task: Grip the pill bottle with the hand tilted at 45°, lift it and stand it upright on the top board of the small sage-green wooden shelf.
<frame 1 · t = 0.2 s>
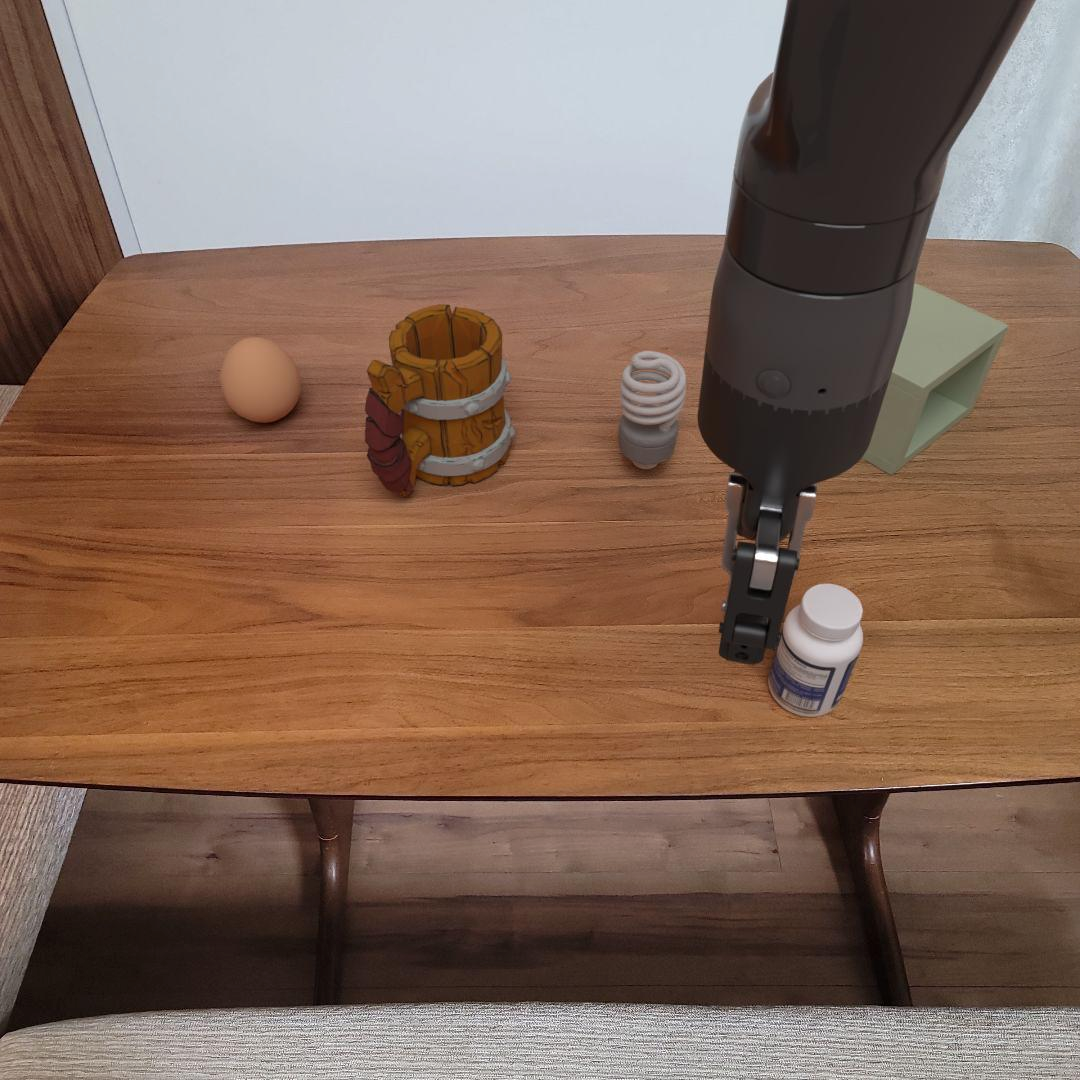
hand: (747, 591, 50), 20 cm above the table, tool pointing down, fingers open, 8 cm apart
egg: (270, 416, 92), on the table
shelf: (879, 413, 91), on the table
mug: (439, 466, 86), on the table
pill bottle: (802, 690, 69), on the table
light bulb: (644, 468, 86), on the table
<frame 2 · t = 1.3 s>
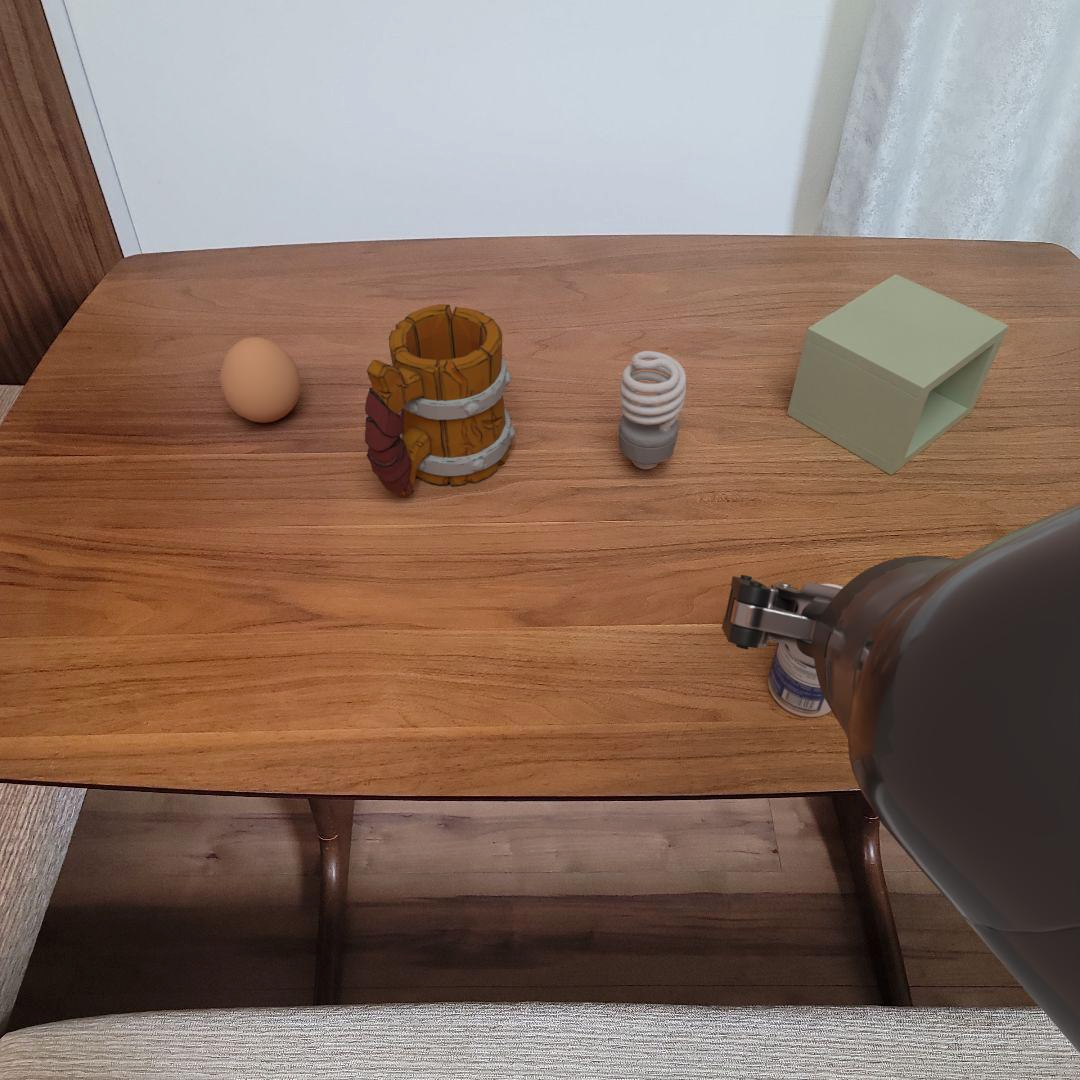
hand: (871, 626, 46), 22 cm above the table, tool tilted 45°, fingers open, 8 cm apart
nothing on the table moved.
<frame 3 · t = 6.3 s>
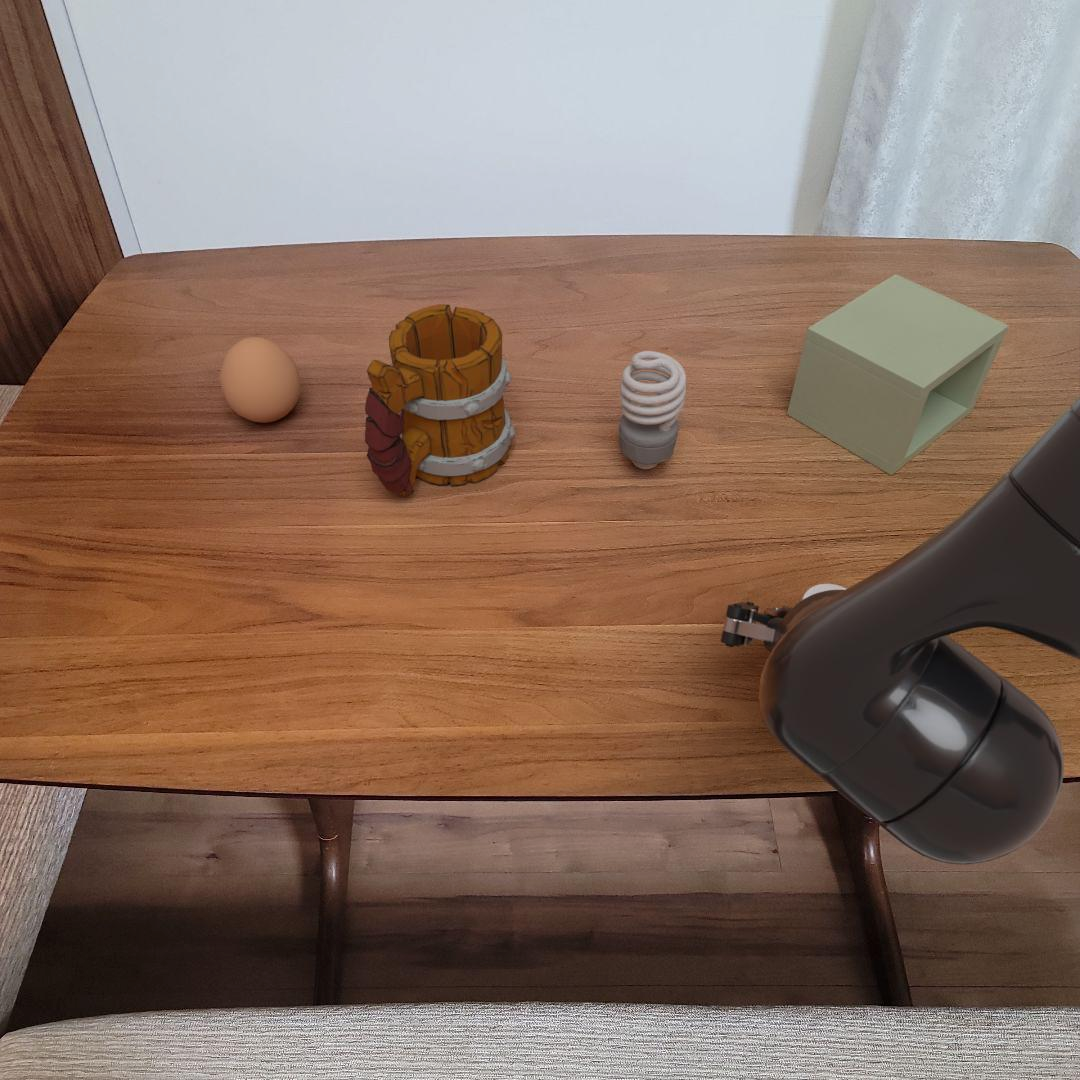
hand: (818, 631, 67), 5 cm above the table, tool tilted 45°, fingers closed on pill bottle, 5 cm apart
pill bottle: (802, 690, 69), on the table, touching gripper
everything else where it was.
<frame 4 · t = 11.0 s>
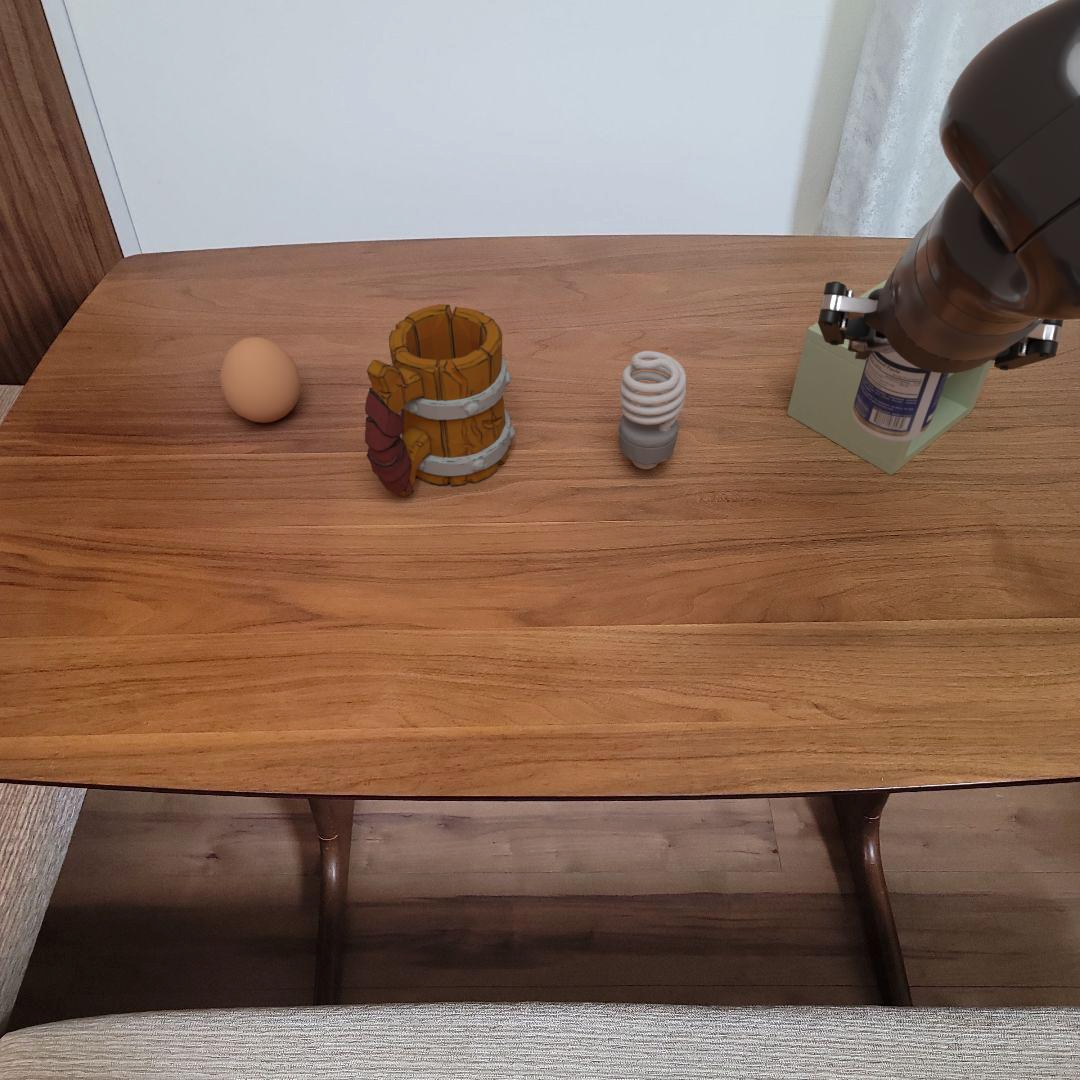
hand: (906, 351, 65), 20 cm above the table, tool tilted 45°, fingers closed on pill bottle, 5 cm apart
pill bottle: (888, 422, 67), point 15 cm above the table, touching gripper
everything else where it was.
when the fingers open (15 cm above the table, at t = 15.7 s): pill bottle stays where it is, resting on shelf.
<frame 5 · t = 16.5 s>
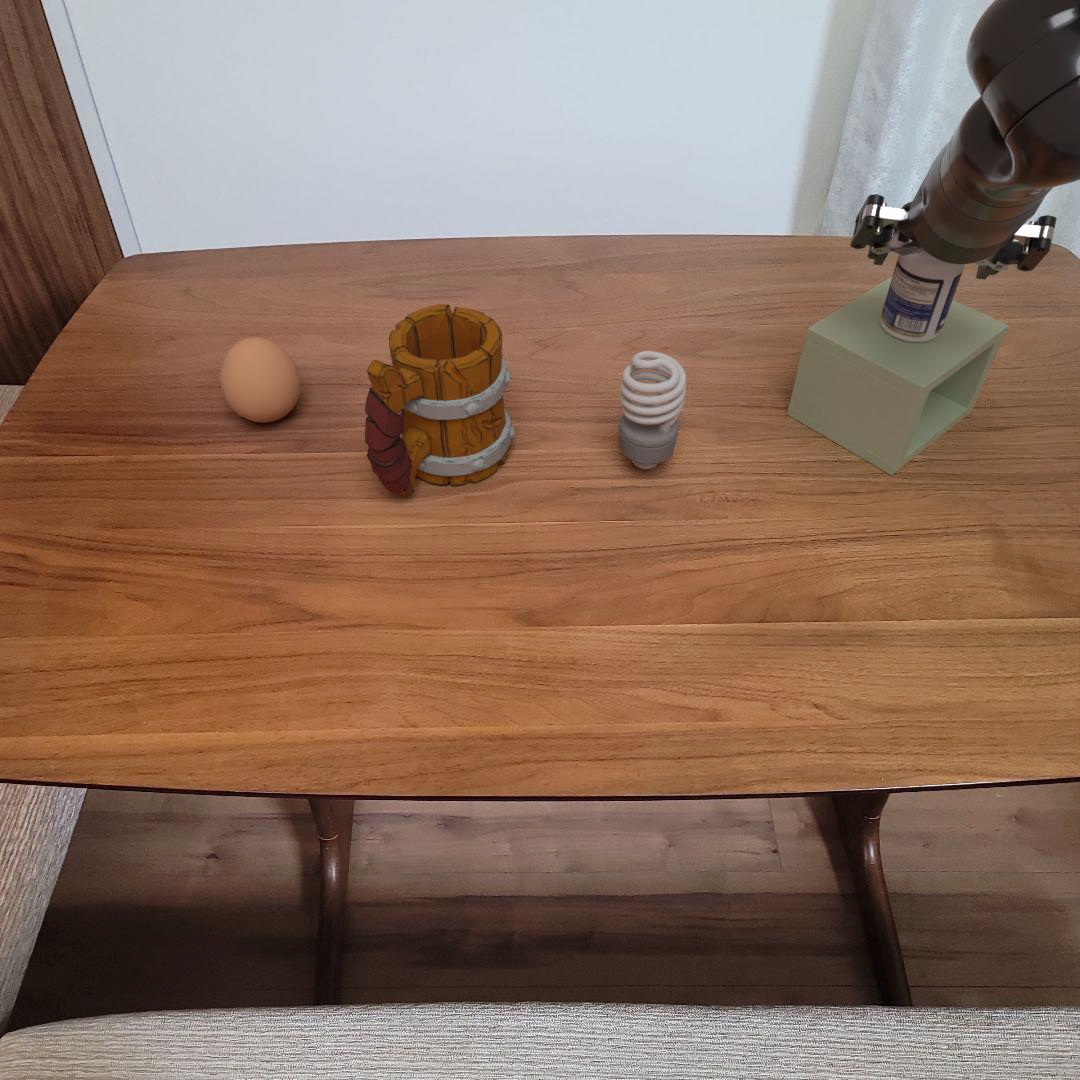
hand: (930, 260, 80), 16 cm above the table, tool tilted 45°, fingers open, 8 cm apart
pill bottle: (908, 328, 84), point 10 cm above the table, touching shelf
everything else where it was.
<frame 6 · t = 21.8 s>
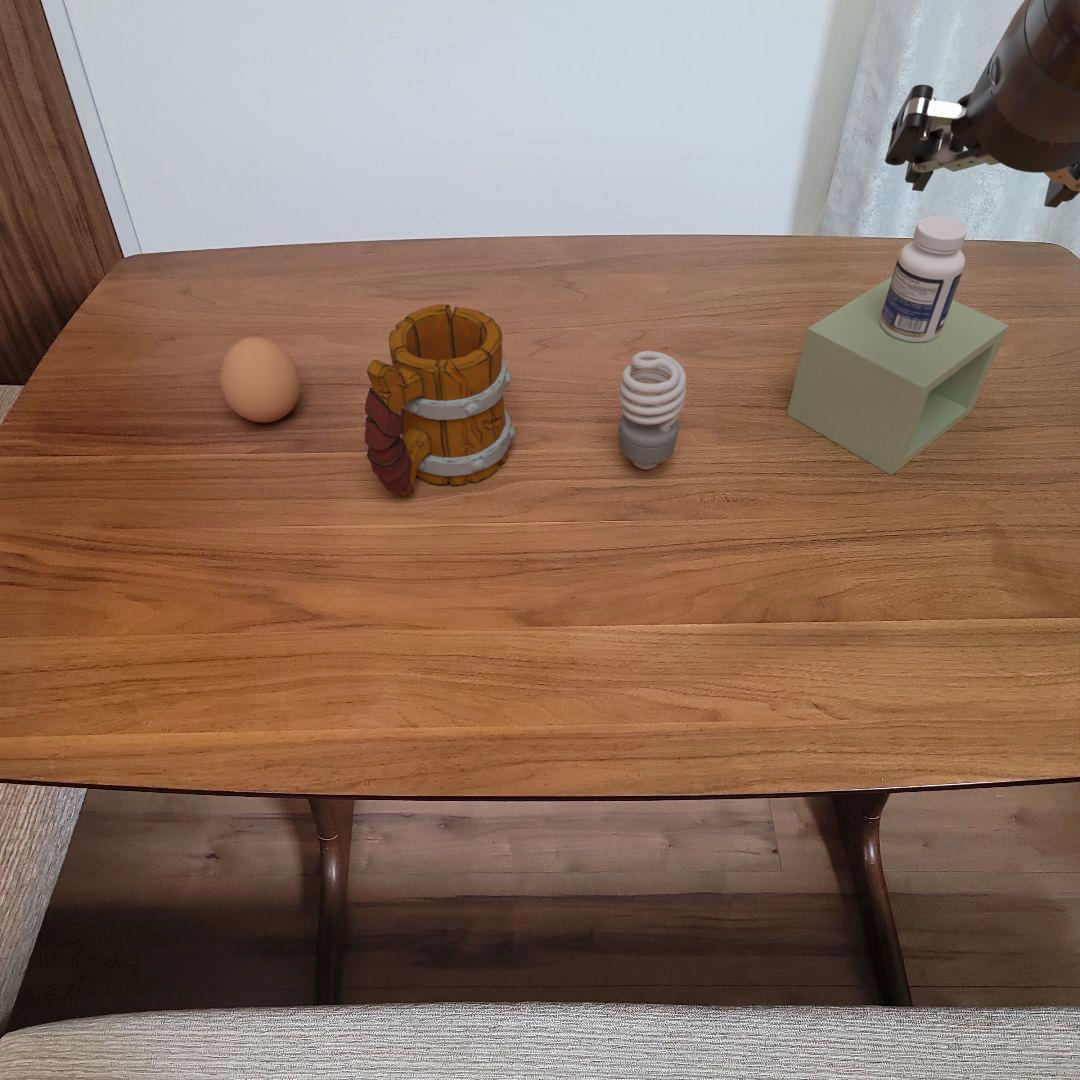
hand: (984, 184, 63), 29 cm above the table, tool tilted 45°, fingers open, 8 cm apart
nothing on the table moved.
at the end: pill bottle inside the target area on the shelf (0.1 cm from its centre), point 9.8 cm above the shelf's base; pill bottle tilted 0°; the gripper is holding nothing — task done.
